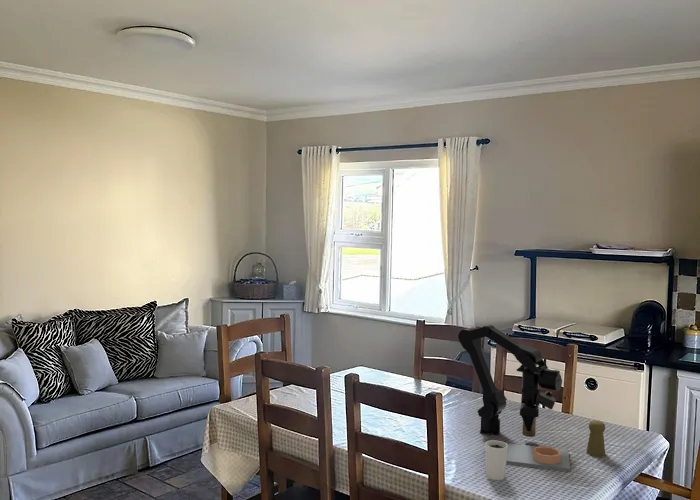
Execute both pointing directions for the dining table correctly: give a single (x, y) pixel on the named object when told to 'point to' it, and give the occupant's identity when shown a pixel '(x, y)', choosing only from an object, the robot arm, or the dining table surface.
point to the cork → (596, 439)
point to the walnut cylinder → (533, 428)
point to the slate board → (525, 458)
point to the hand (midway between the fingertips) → (529, 428)
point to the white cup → (496, 459)
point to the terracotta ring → (546, 455)
